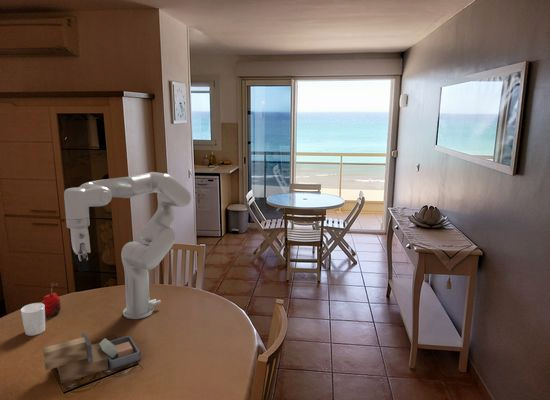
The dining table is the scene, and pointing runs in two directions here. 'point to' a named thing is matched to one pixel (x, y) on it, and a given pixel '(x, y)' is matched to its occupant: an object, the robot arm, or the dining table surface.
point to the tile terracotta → (124, 349)
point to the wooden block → (84, 365)
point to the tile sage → (108, 347)
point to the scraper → (68, 352)
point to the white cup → (33, 318)
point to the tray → (125, 360)
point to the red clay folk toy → (51, 303)
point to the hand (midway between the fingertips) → (81, 266)
